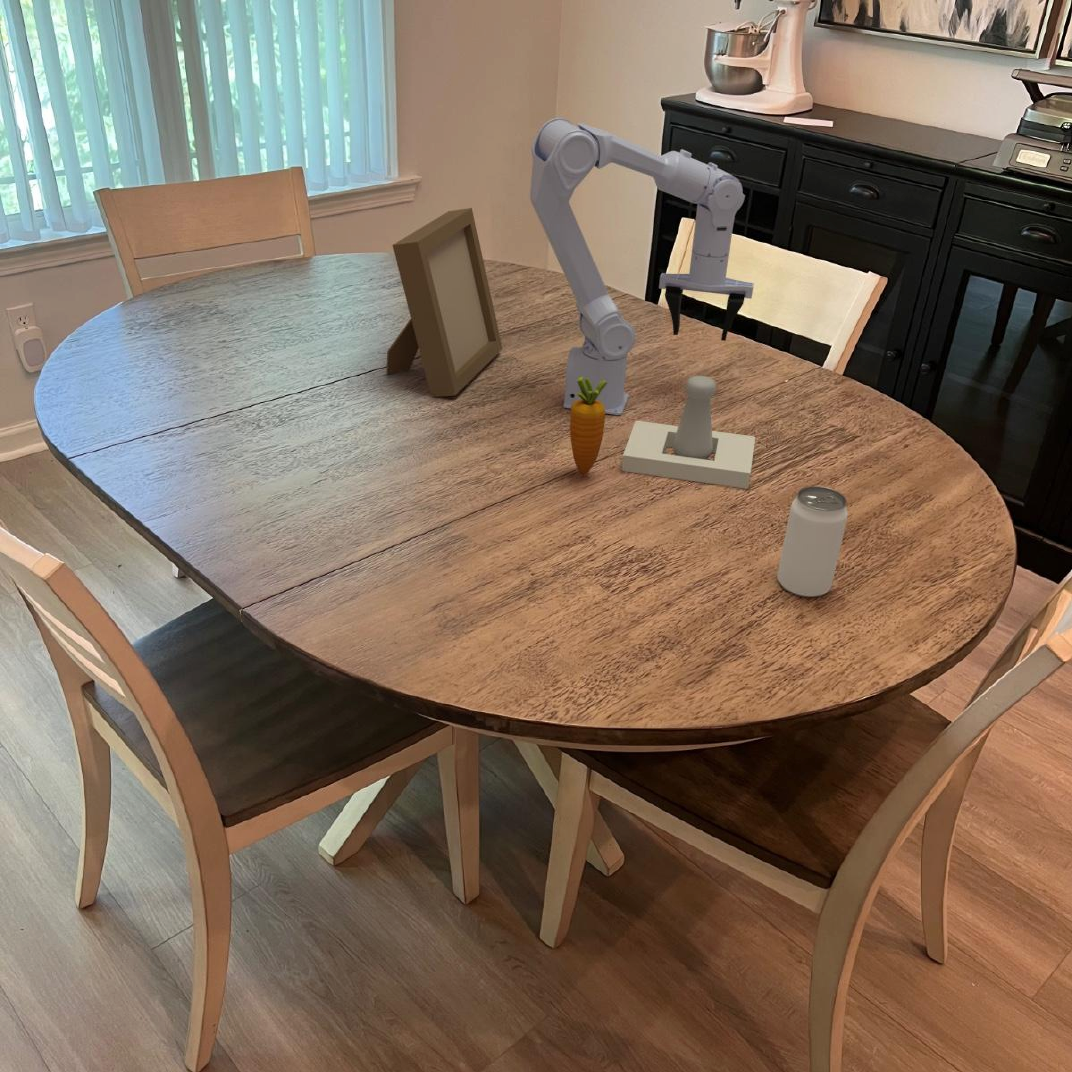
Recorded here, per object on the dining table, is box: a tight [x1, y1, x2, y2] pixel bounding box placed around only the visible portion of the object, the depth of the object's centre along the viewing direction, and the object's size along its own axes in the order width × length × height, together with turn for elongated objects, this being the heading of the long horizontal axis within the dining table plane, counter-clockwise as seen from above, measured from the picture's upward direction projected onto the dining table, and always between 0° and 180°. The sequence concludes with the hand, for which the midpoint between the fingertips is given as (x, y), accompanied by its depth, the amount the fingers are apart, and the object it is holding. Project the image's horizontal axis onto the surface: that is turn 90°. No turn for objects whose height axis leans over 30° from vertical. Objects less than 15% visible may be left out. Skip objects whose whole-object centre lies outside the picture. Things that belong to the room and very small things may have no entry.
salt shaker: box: [672, 375, 717, 460], centre depth 148 cm, size 6×6×13 cm
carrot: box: [569, 377, 607, 477], centre depth 142 cm, size 5×5×15 cm
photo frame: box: [385, 207, 503, 398], centre depth 170 cm, size 15×22×25 cm
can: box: [777, 485, 848, 598], centre depth 122 cm, size 6×6×12 cm
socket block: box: [621, 420, 756, 490], centre depth 151 cm, size 18×12×2 cm, turn 77°
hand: (699, 335), depth 166 cm, fingers open, 7 cm apart
